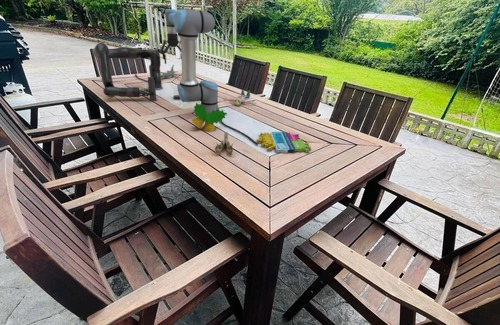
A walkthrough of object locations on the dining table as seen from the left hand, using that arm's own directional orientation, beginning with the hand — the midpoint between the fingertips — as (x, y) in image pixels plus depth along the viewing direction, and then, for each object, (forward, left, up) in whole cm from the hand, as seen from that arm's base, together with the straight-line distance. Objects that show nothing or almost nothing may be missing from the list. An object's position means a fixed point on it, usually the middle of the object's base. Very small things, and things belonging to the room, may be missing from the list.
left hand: (154, 92), depth 206 cm
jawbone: (+95, +41, -6) cm, 104 cm away
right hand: (-4, +17, +21) cm, 27 cm away
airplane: (-85, +7, -6) cm, 86 cm away
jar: (0, -2, -6) cm, 7 cm away
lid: (-4, +16, -4) cm, 18 cm away
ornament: (+63, +36, -6) cm, 73 cm away
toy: (+5, +69, -6) cm, 70 cm away
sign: (+88, +76, -6) cm, 117 cm away
